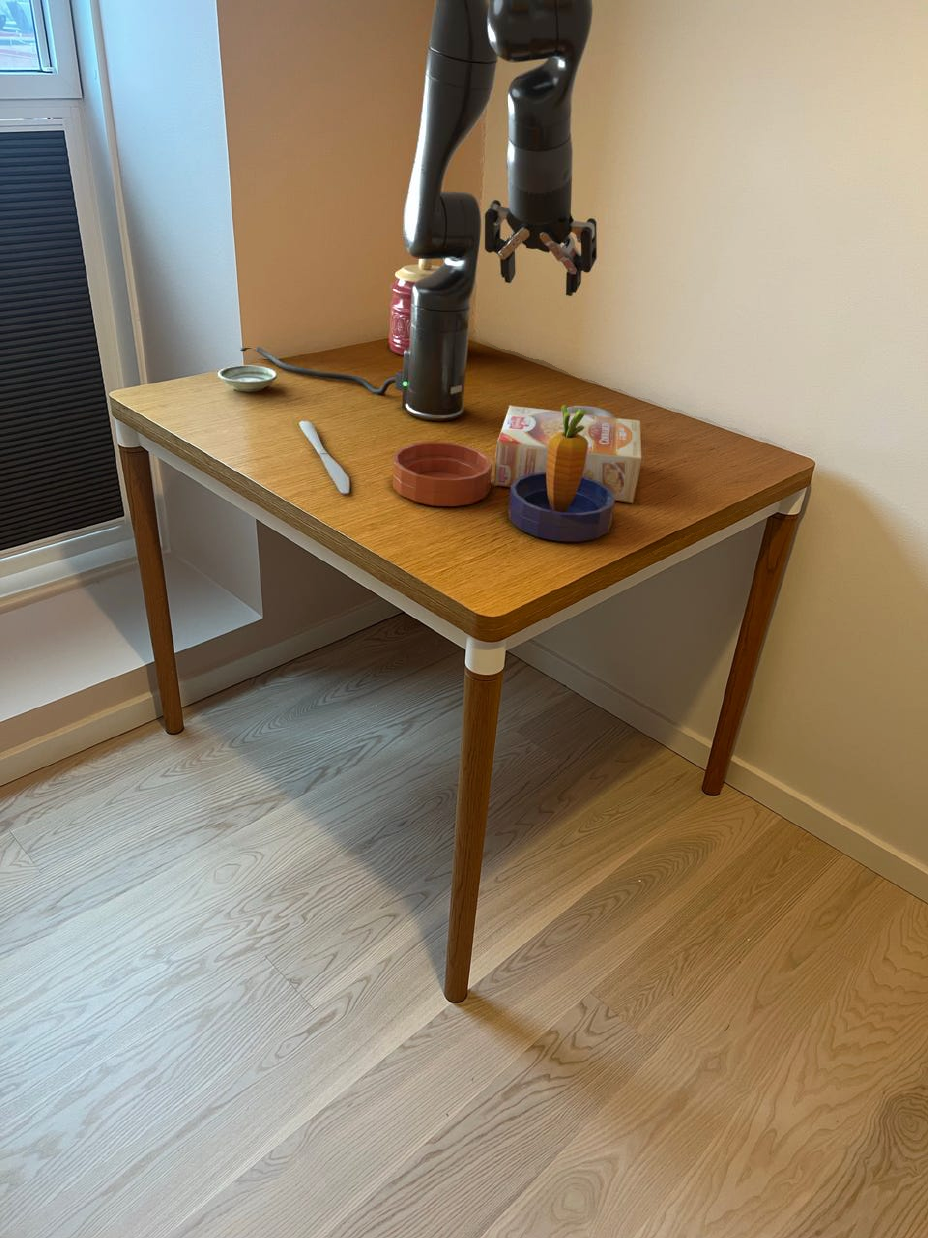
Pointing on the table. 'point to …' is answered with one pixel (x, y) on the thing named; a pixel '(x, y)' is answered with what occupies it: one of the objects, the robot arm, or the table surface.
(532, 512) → the indigo bowl
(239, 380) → the saucer
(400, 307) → the kitchen canister
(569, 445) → the carrot
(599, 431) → the coffeecake box
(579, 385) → the table surface
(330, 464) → the butter knife
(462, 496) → the terracotta bowl
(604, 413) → the donut
